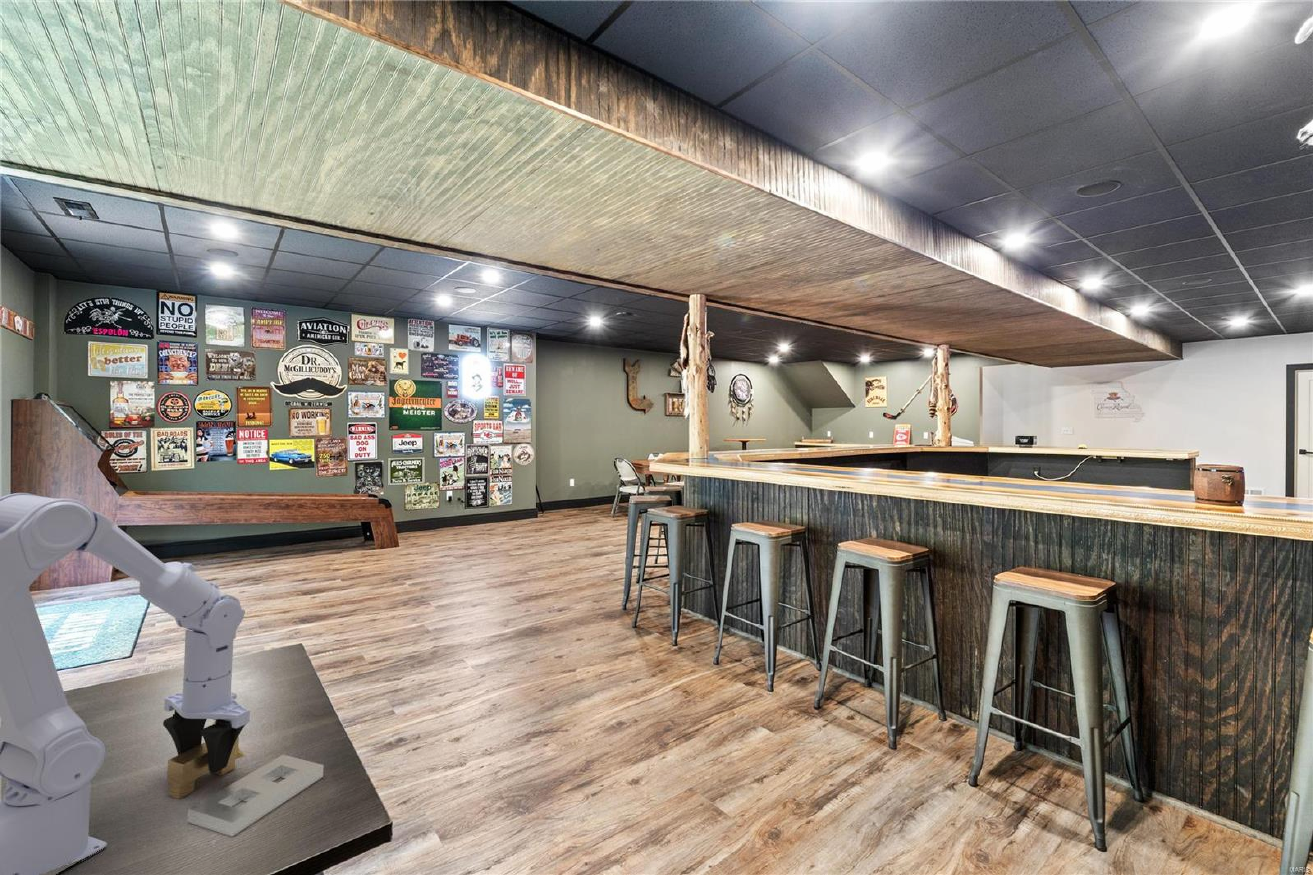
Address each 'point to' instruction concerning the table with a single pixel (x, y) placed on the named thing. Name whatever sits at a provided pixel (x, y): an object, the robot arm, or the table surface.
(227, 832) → the white slotted holder
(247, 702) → the table surface
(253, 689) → the table surface
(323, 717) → the table surface
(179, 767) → the stepped wooden block
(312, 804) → the table surface
